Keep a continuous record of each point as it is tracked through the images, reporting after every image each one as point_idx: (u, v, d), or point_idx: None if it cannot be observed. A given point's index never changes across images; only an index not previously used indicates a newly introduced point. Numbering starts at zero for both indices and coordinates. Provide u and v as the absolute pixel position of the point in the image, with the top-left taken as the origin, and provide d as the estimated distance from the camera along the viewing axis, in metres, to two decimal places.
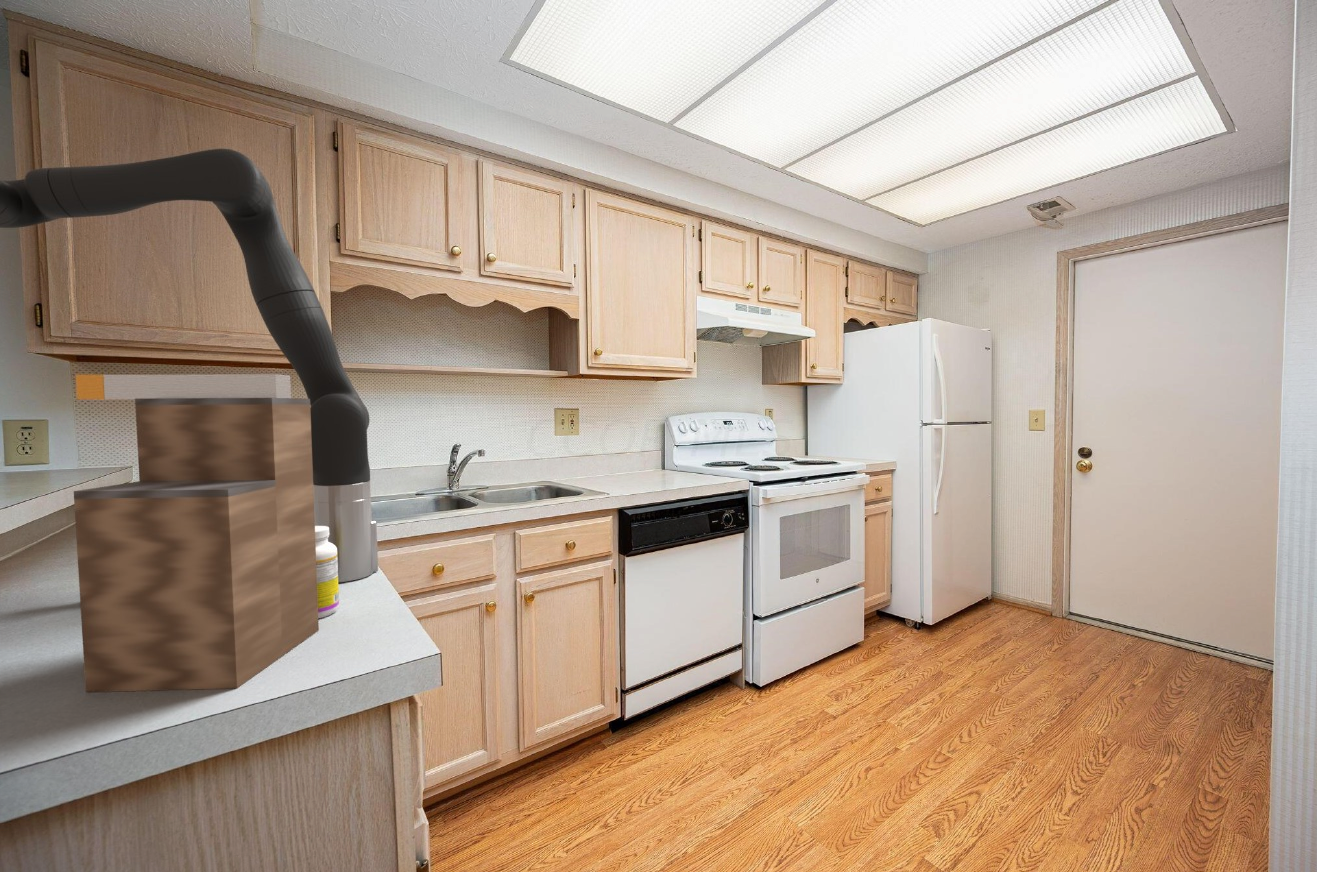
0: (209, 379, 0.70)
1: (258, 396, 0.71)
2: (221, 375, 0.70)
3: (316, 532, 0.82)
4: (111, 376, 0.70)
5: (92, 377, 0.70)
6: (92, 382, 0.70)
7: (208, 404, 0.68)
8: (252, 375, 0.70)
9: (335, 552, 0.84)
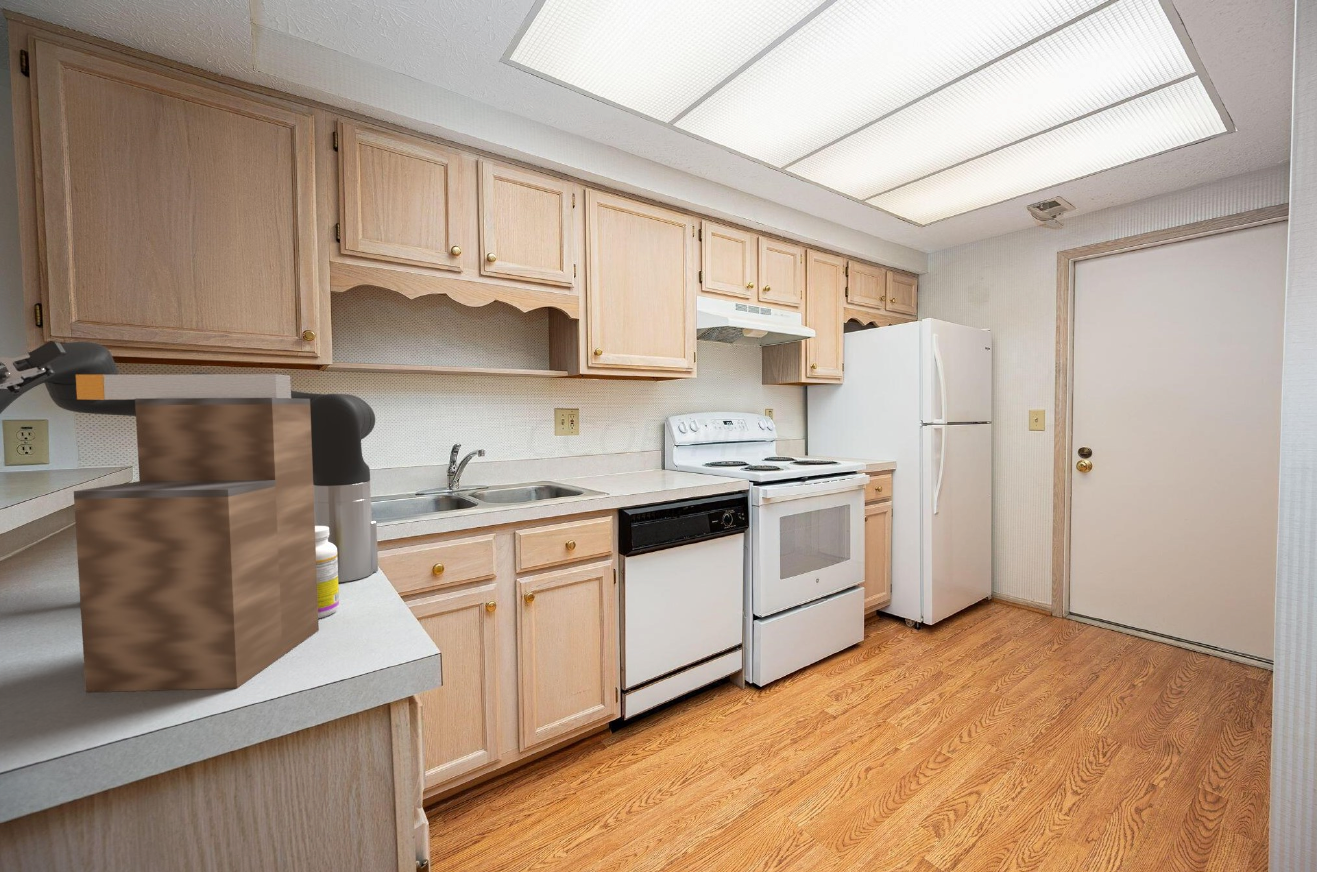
0: (209, 379, 0.70)
1: (258, 396, 0.71)
2: (221, 375, 0.70)
3: (316, 532, 0.82)
4: (111, 376, 0.70)
5: (92, 377, 0.70)
6: (92, 382, 0.70)
7: (208, 404, 0.68)
8: (252, 375, 0.70)
9: (335, 552, 0.84)
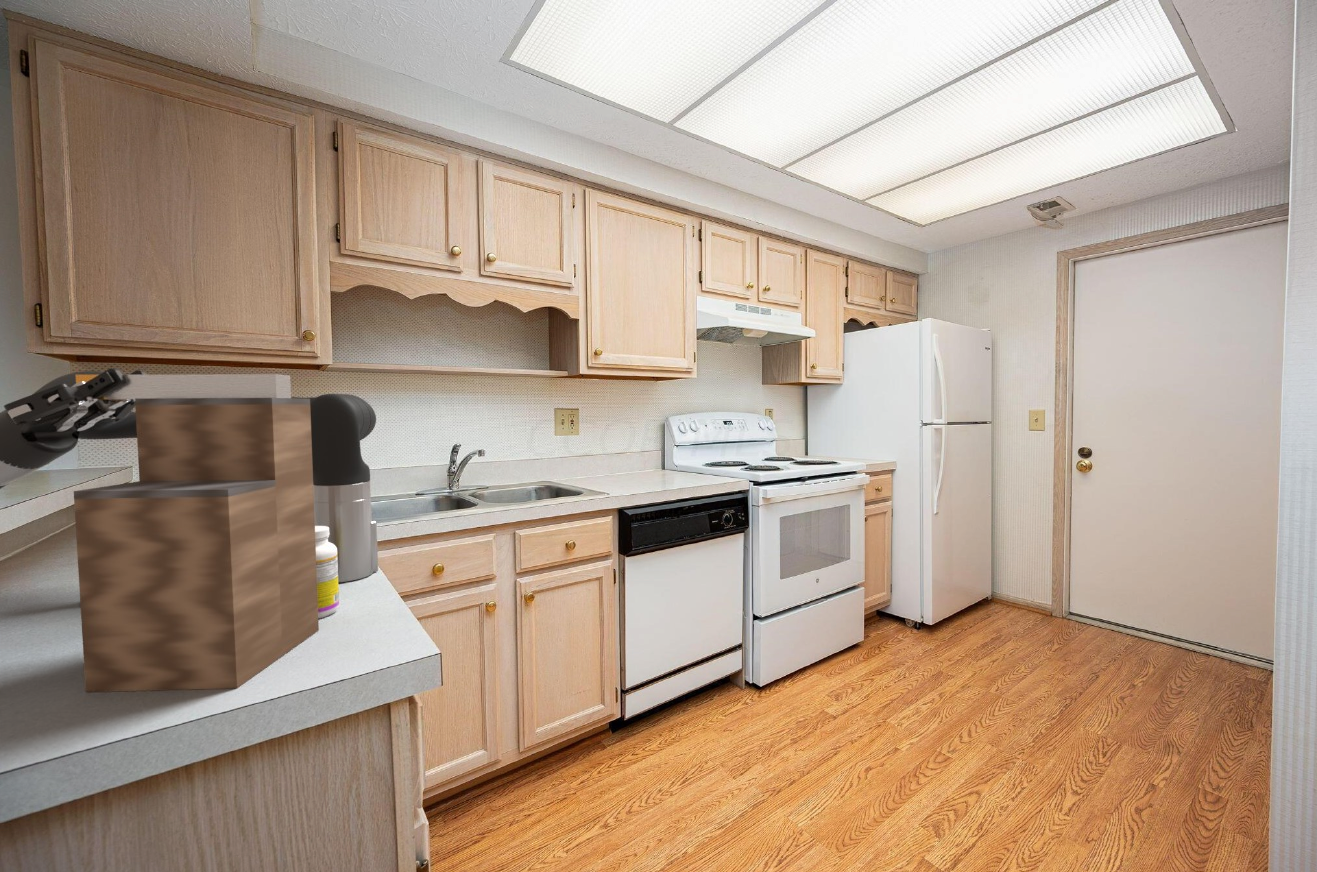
0: (209, 379, 0.70)
1: (258, 396, 0.70)
2: (221, 375, 0.70)
3: (316, 532, 0.82)
4: None
5: (92, 377, 0.70)
6: None
7: (208, 404, 0.68)
8: (252, 375, 0.70)
9: (335, 552, 0.84)
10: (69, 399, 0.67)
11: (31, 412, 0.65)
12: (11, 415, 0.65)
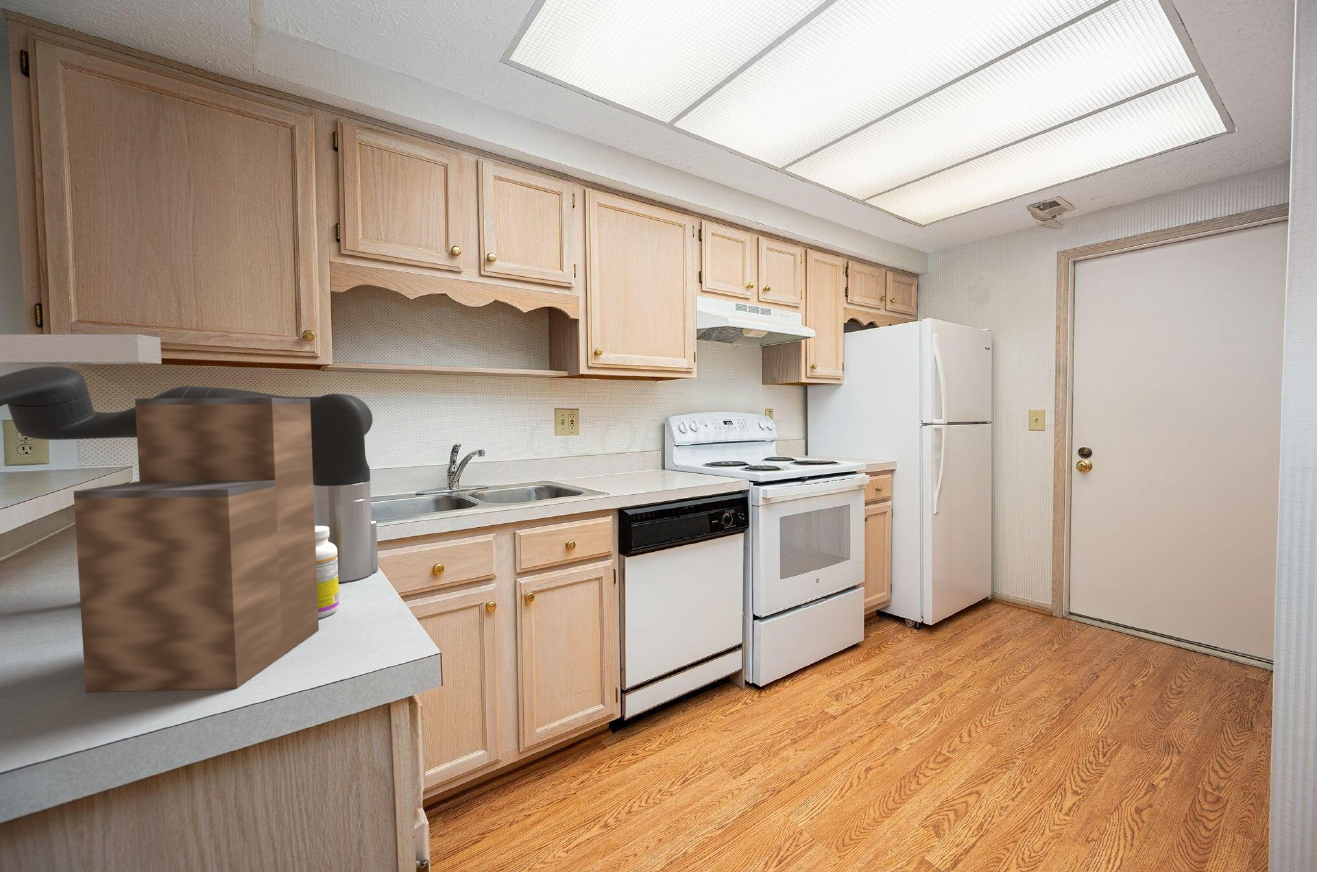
0: (60, 340, 0.62)
1: (117, 359, 0.62)
2: (74, 335, 0.62)
3: (316, 532, 0.82)
4: None
5: None
6: None
7: (208, 404, 0.68)
8: (110, 335, 0.62)
9: (335, 552, 0.84)
10: None
11: None
12: None
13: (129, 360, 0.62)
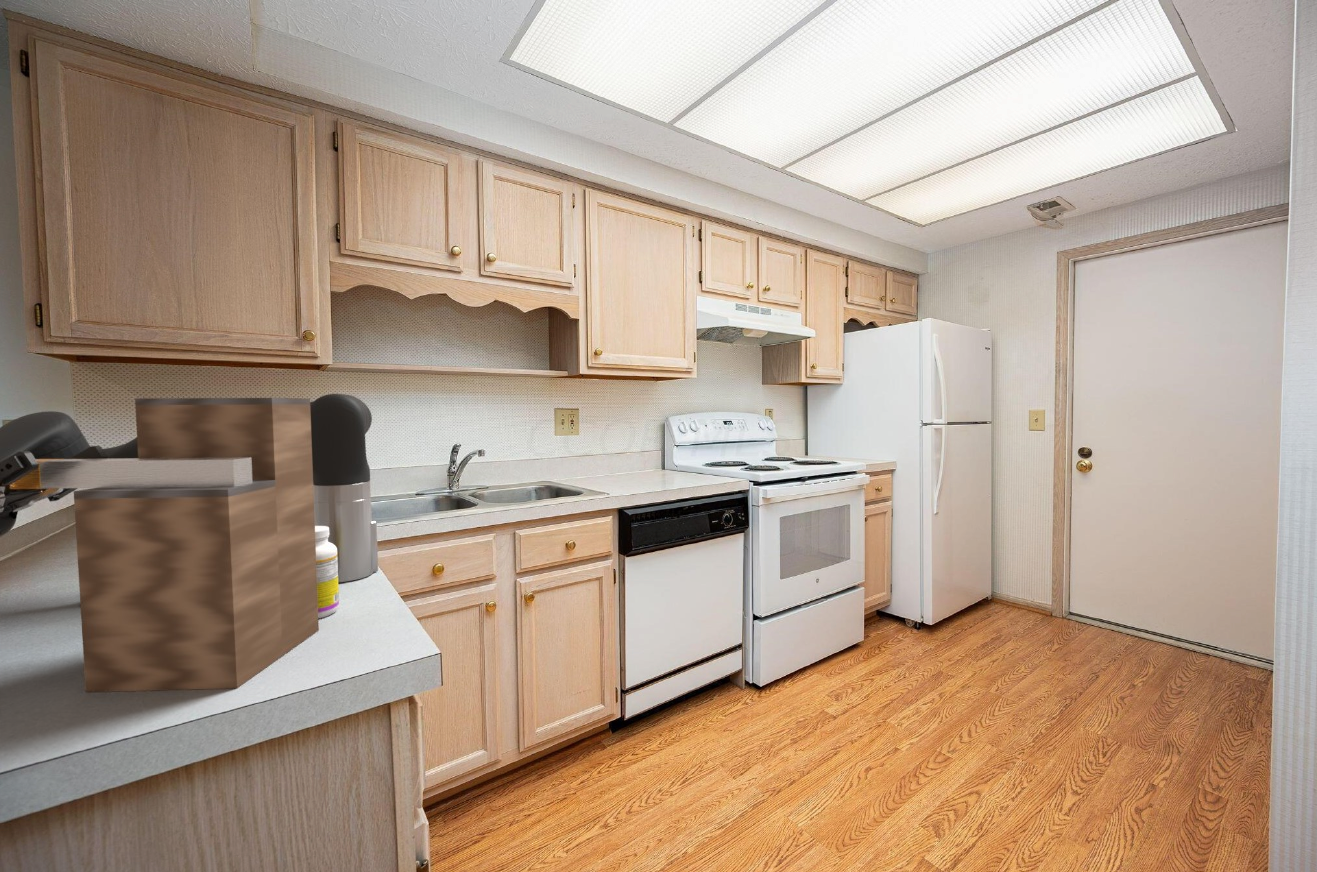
0: (158, 466, 0.63)
1: (214, 484, 0.63)
2: (172, 461, 0.63)
3: (316, 532, 0.82)
4: (48, 463, 0.62)
5: None
6: None
7: (208, 404, 0.68)
8: (207, 461, 0.63)
9: (335, 552, 0.84)
10: None
11: None
12: None
13: (225, 485, 0.63)
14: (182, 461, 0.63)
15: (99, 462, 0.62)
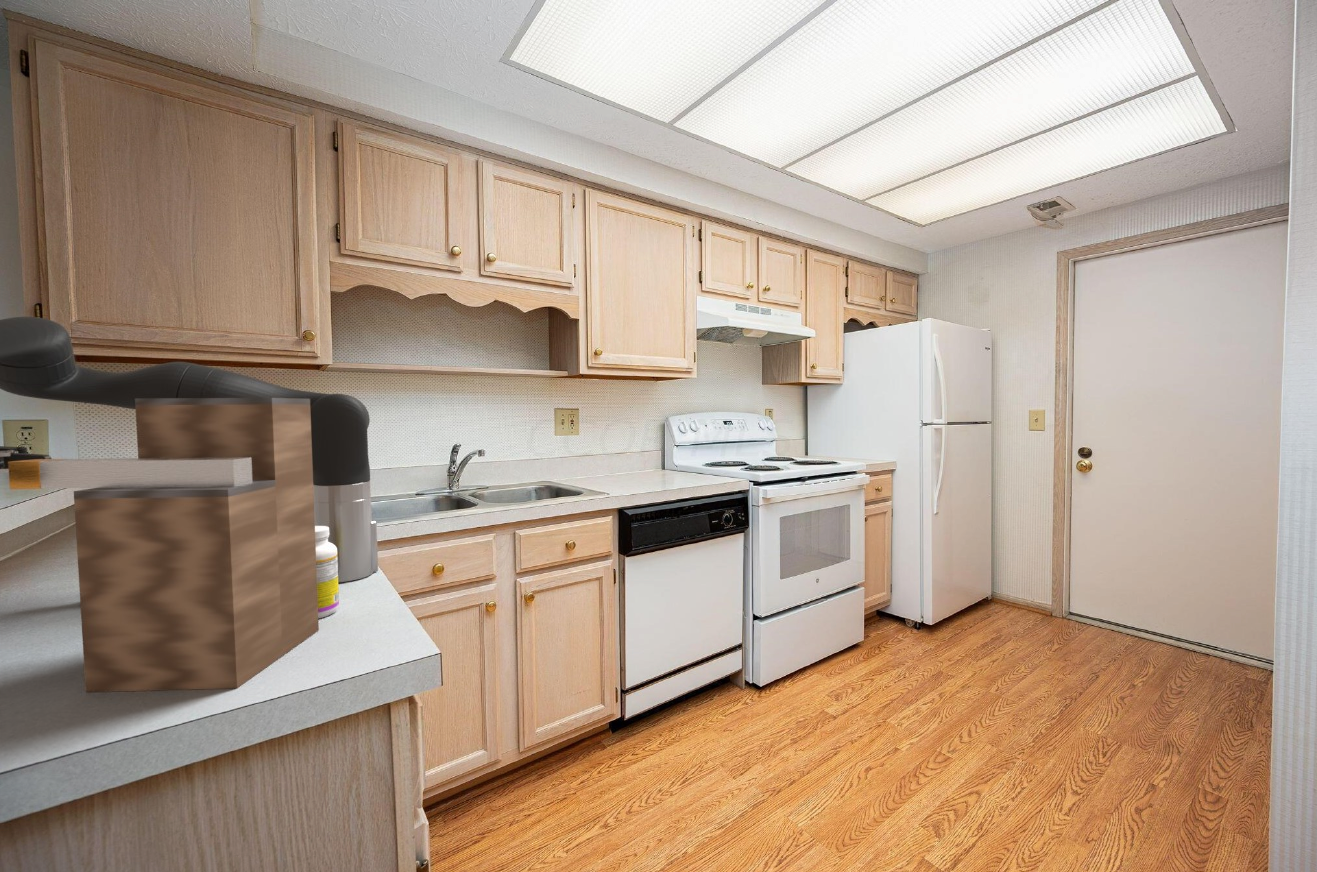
0: (158, 466, 0.63)
1: (214, 484, 0.63)
2: (172, 461, 0.63)
3: (316, 532, 0.82)
4: (48, 463, 0.62)
5: (27, 464, 0.62)
6: (27, 469, 0.62)
7: (208, 404, 0.68)
8: (207, 461, 0.63)
9: (335, 552, 0.84)
10: None
11: None
12: None
13: (225, 485, 0.63)
14: (182, 461, 0.63)
15: (99, 462, 0.62)
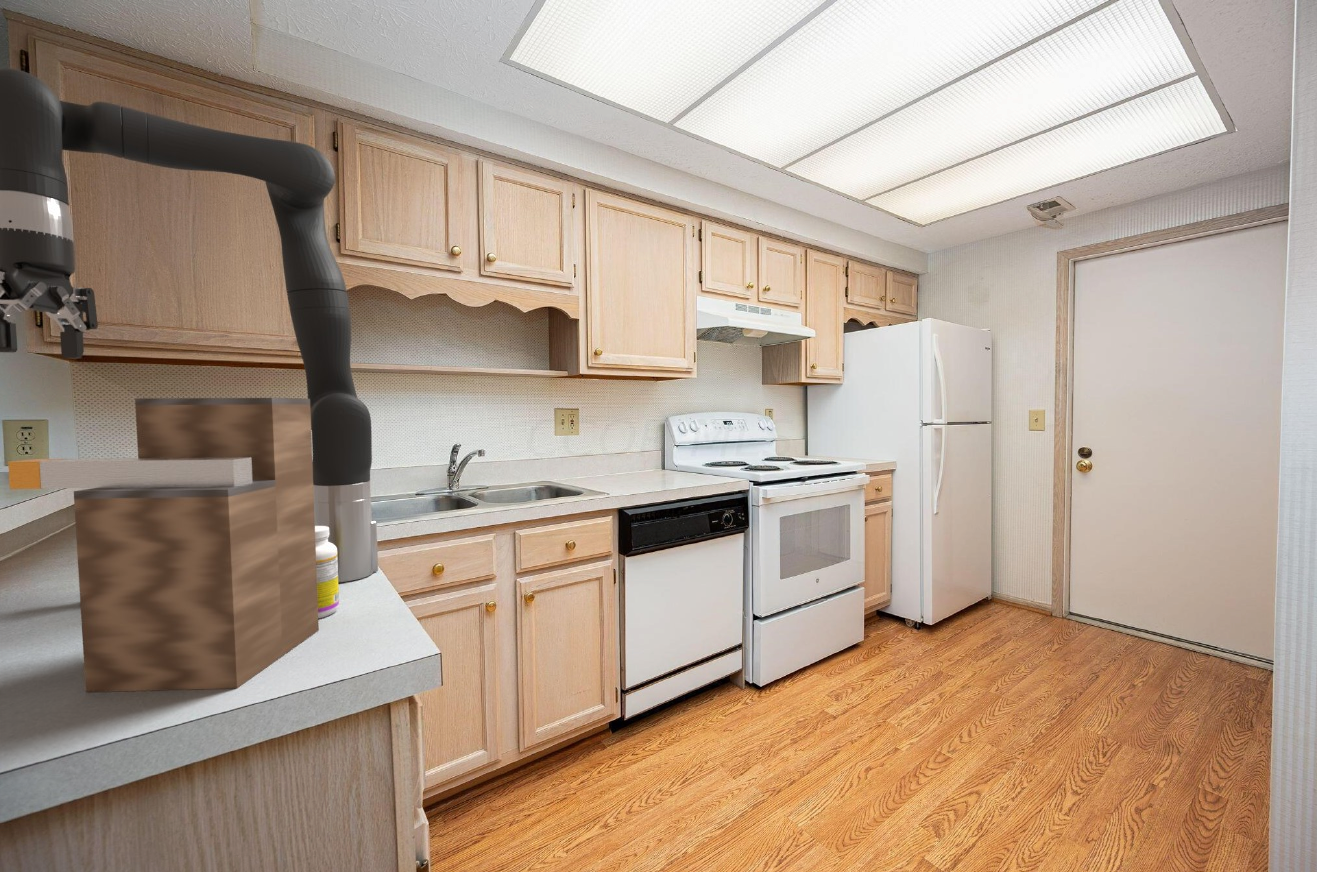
0: (158, 466, 0.63)
1: (214, 484, 0.63)
2: (172, 461, 0.63)
3: (316, 532, 0.82)
4: (48, 463, 0.62)
5: (27, 464, 0.62)
6: (27, 469, 0.62)
7: (208, 404, 0.68)
8: (207, 461, 0.63)
9: (335, 552, 0.84)
10: None
11: None
12: None
13: (225, 485, 0.63)
14: (182, 461, 0.63)
15: (99, 462, 0.62)
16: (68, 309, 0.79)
